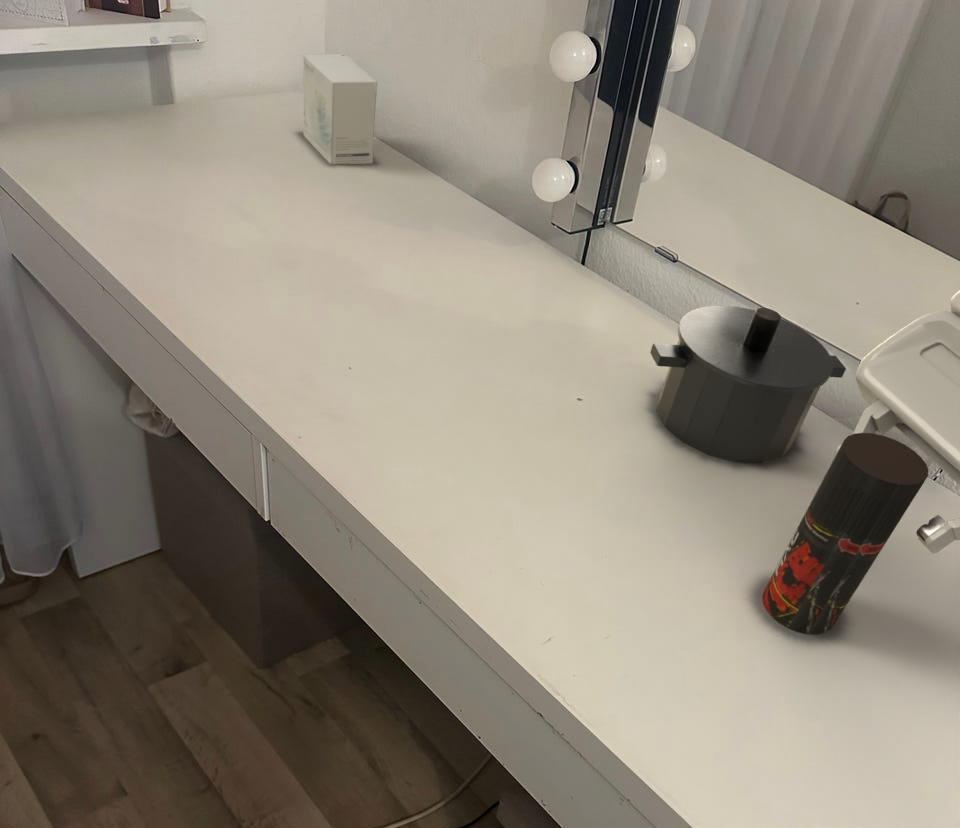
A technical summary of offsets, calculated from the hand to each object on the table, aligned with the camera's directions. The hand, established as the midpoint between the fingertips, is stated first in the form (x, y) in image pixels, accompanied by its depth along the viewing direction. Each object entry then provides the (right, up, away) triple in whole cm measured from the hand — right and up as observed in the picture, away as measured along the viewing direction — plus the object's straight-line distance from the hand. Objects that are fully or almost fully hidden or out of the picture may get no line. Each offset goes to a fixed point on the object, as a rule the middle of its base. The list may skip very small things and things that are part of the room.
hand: (881, 500), depth 65 cm
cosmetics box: (-49, +56, +58) cm, 95 cm away
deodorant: (-4, -8, +7) cm, 11 cm away
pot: (-5, +11, +25) cm, 28 cm away
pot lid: (-3, +17, +19) cm, 26 cm away
